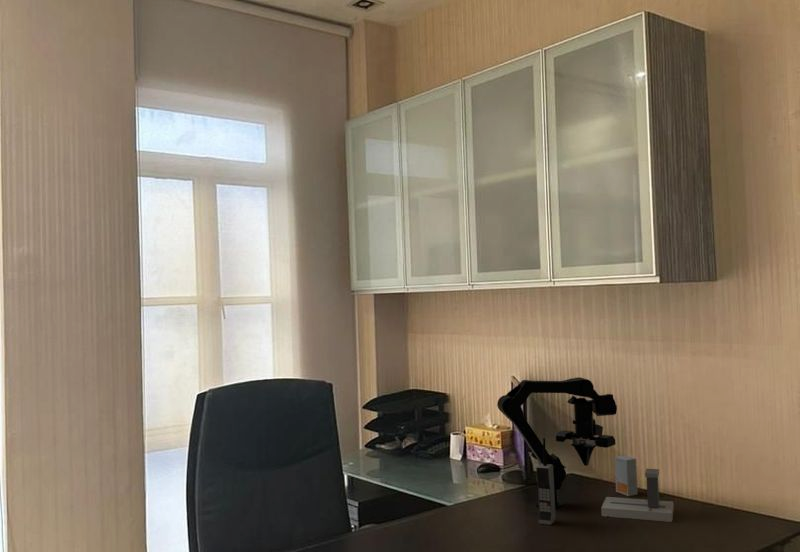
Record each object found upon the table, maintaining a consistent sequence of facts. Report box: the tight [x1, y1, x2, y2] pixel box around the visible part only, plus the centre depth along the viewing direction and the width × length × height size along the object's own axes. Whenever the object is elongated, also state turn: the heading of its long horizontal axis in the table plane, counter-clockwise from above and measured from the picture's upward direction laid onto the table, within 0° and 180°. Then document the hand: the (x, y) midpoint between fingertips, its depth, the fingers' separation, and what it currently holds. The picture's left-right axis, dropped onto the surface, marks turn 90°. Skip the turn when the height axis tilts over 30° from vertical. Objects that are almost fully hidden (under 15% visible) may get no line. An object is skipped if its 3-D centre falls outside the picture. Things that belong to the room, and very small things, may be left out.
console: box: [600, 496, 675, 523], centre depth 216 cm, size 20×12×3 cm, turn 67°
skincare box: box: [614, 454, 638, 497], centre depth 237 cm, size 6×4×12 cm
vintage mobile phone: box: [535, 437, 556, 526], centre depth 212 cm, size 4×5×25 cm
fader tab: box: [644, 468, 660, 508], centre depth 215 cm, size 4×6×10 cm, turn 157°
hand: (586, 465), depth 229 cm, fingers closed
